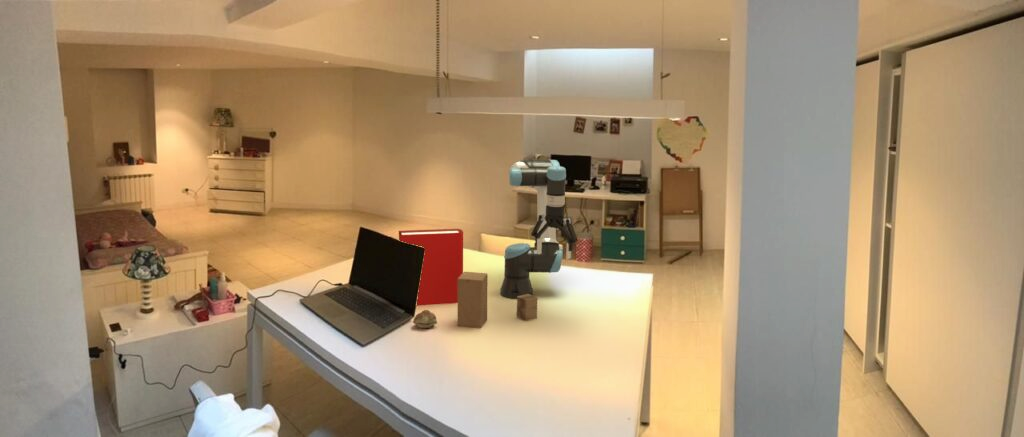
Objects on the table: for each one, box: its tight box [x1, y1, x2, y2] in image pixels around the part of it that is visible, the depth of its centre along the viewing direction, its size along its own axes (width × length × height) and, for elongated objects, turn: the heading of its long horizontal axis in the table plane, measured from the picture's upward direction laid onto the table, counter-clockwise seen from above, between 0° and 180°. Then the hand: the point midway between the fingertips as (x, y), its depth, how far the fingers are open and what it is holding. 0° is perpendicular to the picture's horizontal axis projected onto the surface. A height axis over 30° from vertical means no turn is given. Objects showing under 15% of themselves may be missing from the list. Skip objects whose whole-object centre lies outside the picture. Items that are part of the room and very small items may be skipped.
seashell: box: [412, 309, 438, 329], centre depth 248 cm, size 9×7×8 cm
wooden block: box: [457, 271, 489, 329], centre depth 252 cm, size 10×10×20 cm
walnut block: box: [516, 294, 538, 322], centre depth 260 cm, size 6×6×9 cm
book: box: [398, 228, 464, 307], centre depth 275 cm, size 27×8×32 cm, turn 104°
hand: (553, 255), depth 256 cm, fingers open, 13 cm apart
